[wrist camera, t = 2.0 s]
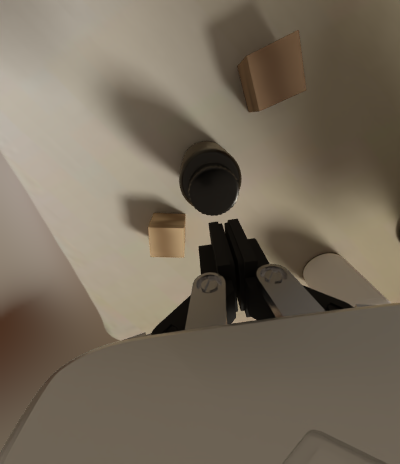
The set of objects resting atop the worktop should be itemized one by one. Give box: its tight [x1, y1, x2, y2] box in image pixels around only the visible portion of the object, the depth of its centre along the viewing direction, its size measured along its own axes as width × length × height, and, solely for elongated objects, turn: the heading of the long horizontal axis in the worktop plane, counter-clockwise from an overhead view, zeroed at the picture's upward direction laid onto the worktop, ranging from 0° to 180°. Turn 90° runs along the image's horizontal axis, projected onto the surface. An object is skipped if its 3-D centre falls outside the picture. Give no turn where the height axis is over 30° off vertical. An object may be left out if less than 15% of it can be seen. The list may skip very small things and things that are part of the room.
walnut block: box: [237, 30, 306, 112], centre depth 23 cm, size 5×5×5 cm
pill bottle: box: [303, 253, 391, 307], centre depth 33 cm, size 8×8×15 cm
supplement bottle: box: [179, 141, 241, 216], centre depth 24 cm, size 7×7×12 cm
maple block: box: [148, 213, 185, 257], centre depth 32 cm, size 5×5×5 cm
